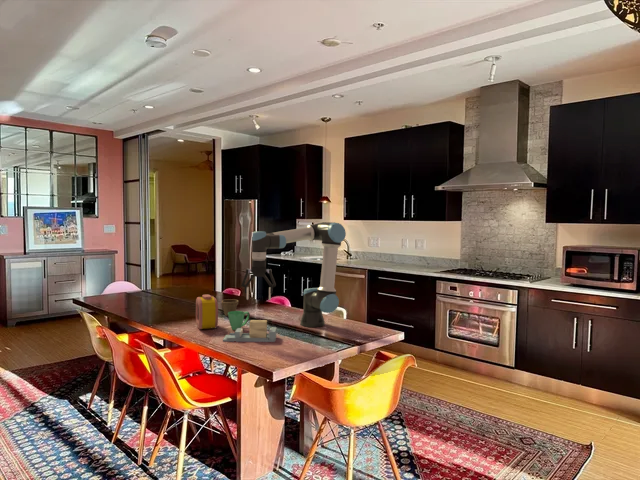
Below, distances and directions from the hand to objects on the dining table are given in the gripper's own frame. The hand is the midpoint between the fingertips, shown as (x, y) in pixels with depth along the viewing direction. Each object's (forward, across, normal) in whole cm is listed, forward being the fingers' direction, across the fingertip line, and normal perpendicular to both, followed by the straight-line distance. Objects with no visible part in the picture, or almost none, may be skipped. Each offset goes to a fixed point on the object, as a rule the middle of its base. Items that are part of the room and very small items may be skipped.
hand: (258, 299), depth 250 cm
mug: (+22, -14, +24) cm, 35 cm away
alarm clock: (+22, -34, +26) cm, 48 cm away
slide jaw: (+21, -11, 0) cm, 23 cm away
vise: (+22, -4, 0) cm, 23 cm away
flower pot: (+22, -26, +60) cm, 69 cm away
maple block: (+21, 0, 0) cm, 21 cm away
